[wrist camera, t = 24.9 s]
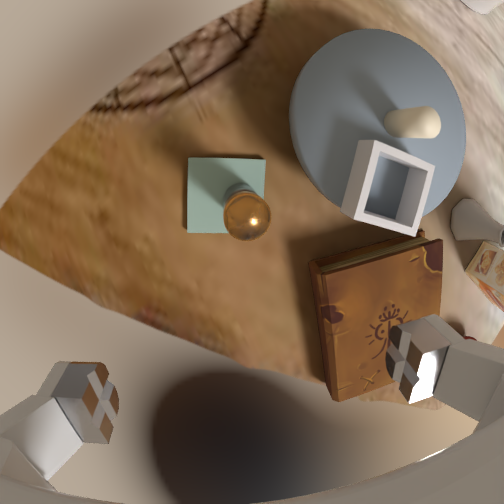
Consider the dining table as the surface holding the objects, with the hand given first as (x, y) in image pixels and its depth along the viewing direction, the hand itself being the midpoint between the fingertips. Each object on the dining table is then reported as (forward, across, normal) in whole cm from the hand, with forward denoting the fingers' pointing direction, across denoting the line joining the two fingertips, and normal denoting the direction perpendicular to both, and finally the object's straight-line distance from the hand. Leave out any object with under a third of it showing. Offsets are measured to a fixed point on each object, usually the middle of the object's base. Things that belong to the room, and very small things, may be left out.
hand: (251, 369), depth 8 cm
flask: (+31, +38, -6) cm, 49 cm away
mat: (+31, 0, 0) cm, 31 cm away
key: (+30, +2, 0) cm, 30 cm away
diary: (+32, +21, -20) cm, 43 cm away
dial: (+26, +18, +8) cm, 32 cm away
